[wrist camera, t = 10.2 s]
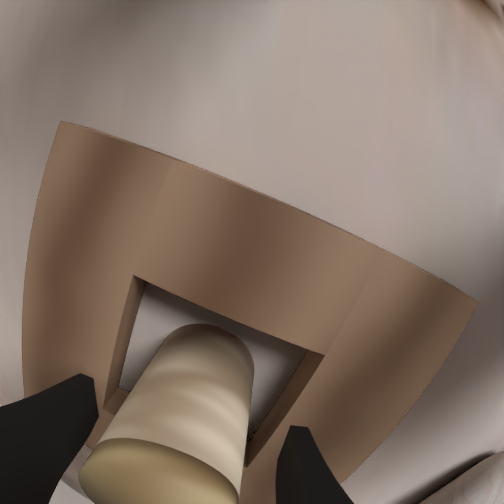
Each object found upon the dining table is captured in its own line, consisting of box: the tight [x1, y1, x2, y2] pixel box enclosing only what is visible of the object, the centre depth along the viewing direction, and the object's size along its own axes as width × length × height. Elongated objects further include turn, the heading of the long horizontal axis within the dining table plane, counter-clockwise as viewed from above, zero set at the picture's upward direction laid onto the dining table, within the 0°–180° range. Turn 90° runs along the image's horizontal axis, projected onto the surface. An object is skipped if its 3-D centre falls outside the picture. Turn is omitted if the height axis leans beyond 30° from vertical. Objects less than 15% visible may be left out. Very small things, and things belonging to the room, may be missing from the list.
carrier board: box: [22, 121, 479, 504], centre depth 12 cm, size 18×16×2 cm
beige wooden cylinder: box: [79, 324, 254, 504], centre depth 9 cm, size 4×4×8 cm
